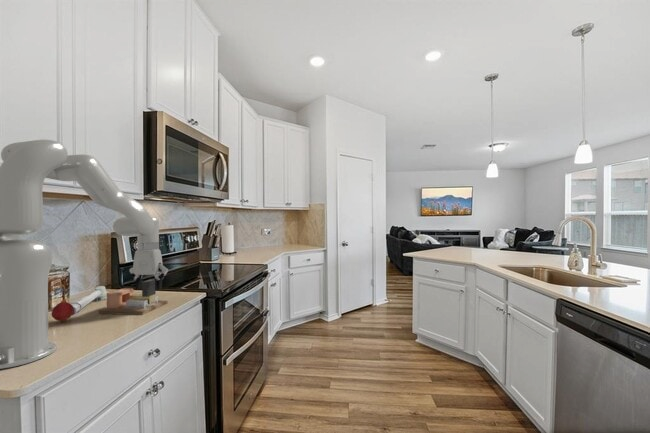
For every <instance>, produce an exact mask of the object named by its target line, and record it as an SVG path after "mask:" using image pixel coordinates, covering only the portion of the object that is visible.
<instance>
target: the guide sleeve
mask: <svg viewBox="0 0 650 433" xmlns="http://www.w3.org/2000/svg"><path fill="white" fill-rule="evenodd" d="M158 300H159V296H158V295H155V302H152V303H150V304H148V300H137V299H130V300H127V301H126V308H134V309H145V308H147V307H149V306H152V305H154V304H156V303H158Z"/></svg>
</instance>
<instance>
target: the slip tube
mask: <svg viewBox="0 0 650 433" xmlns="http://www.w3.org/2000/svg"><path fill="white" fill-rule="evenodd" d="M155 280H156V278H154V279H153V278H151V279H150V278H149V279H148V280H143V282H142V288H141V293H134V295H131V296H130V299H137V300H148V304H150V303H152V302H155V296H156V291H157V290H155Z"/></svg>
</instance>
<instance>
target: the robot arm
mask: <svg viewBox="0 0 650 433" xmlns="http://www.w3.org/2000/svg"><path fill="white" fill-rule="evenodd" d="M0 159H1V160H2V163H1V165H0V370H1V369H3V370H4V369H8V368H9V369H10V368H13V367H17V366H22V365H26V364H29V363H32V362H35V361H38V360H40V359H43V358H45V357H47V356H49V355H50V354H52V353H54V352H55V351H56V349H57V344H56V343H55V342H50V341H49V277H50V275H49V274H50V271H51V266H52V262H53V254H52V251H51V248H50V247H49V246H48V245H47V244H45V243H44V242H41V241H38V240H34V239H20V235H29V234H32V233H35V232H37V231H39V230H40V229H41V228H42V226H43V225H44V217H45V216H44V201H43V187H44V186H43V185H44V182H45V179H50V180H55V181H61V182H76V183H77V184H79V186H80V187H81V189H83V190H84V192H85V193H86V194H87V195H88V196H89V197H90V199H91V200H92V202H93V203H94V204H96V205H98V206H100V207H103V208H106V209H109V210H112V211H114V212H117V213H119V214H121V215H123V216H122V217H119V218H116V219H115V221H114V222H113V225H112V229H113V231H114V232H115V233H116V234H117V235H120V236H122V237H134V236H135V237H137V243H136V244H135V247H136V248H137V249H136V250H135V252H134V256H133V266H132V267H130V268H129V273H130V274H131V276H132V278H133V280H134V281H135V290H136V291H138V290H142V282H143V281H144V279H143V276H154V279H155V290H156V291H159V290H161V289H162V288H163V280H164V278H165V277H166V275H167V274H168V272H169V268H167V267H166V266H165V265H164V264H163V256H162V252H161V249H160V227H159V225H160V224H159V218H158V217H155V216H151V215H150V213H149V212H148V210H147V208H145V207H144V205H142V203H140V202H139V201H137V200H135V199H134V198H132V197H131V196H129V195H128V194H127V193H125V192H123V191H121V189H120V188H119V187H118V186H117V184H116V183H115V182H114V180H113V179H112V178H111V176H110V175H109V174H108V171H106V169H105V168H104V167H103V165H102V164H101V163H100V162H99V161H98V159H97V158H95V157H94V156H92V155H89V154H69V155H68V151H67V148H66V147H65V145H64V144H62V143H61V142H58V141H56V140H52V139H35V140H34V139H33V140H27V141H19V142H18V141H17V142H13V143H9V144H7V145H6V146H4V147H3V148H2V150H1V152H0Z"/></svg>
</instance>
